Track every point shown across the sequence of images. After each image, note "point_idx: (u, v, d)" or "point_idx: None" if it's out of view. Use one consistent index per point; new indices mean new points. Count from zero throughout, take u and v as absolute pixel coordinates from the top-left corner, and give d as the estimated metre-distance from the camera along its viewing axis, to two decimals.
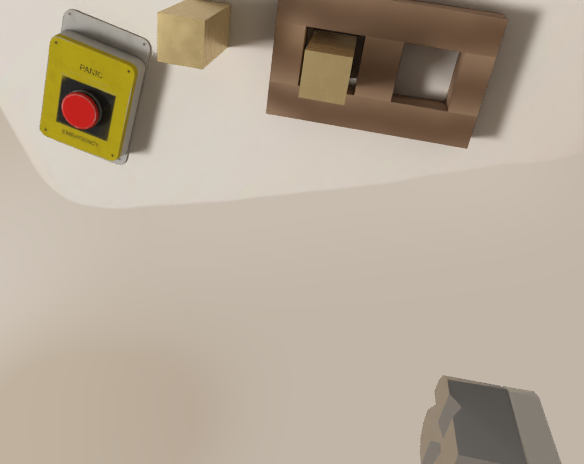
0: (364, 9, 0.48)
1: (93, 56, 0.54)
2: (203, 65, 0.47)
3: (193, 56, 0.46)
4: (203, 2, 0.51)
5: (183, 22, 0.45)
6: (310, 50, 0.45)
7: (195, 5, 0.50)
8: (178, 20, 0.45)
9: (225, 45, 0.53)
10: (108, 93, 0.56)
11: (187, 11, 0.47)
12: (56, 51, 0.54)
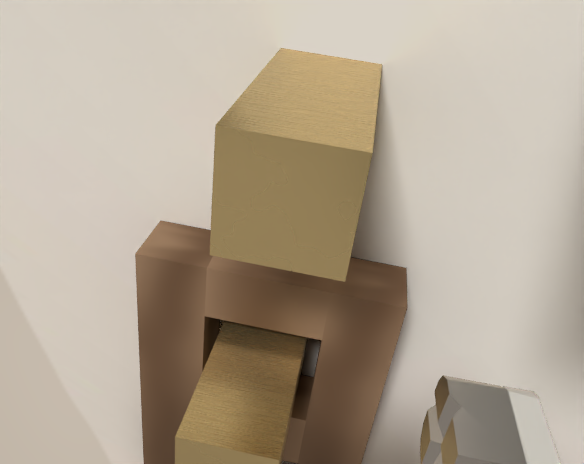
0: (350, 423, 0.27)
1: None
2: None
3: (243, 236, 0.15)
4: None
5: (340, 225, 0.15)
6: None
7: None
8: (346, 212, 0.14)
9: None
10: None
11: None
12: None
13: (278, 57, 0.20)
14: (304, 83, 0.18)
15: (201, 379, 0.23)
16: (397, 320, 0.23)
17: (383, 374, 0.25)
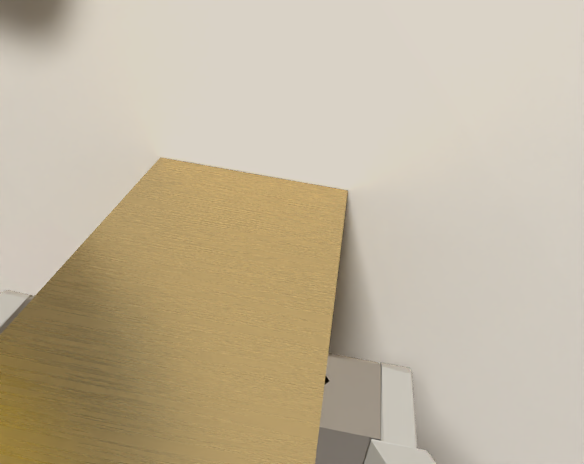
0: None
1: None
2: None
3: None
4: None
5: None
6: None
7: None
8: None
9: None
10: None
11: None
12: None
13: (142, 189, 0.10)
14: (165, 286, 0.08)
15: None
16: None
17: None
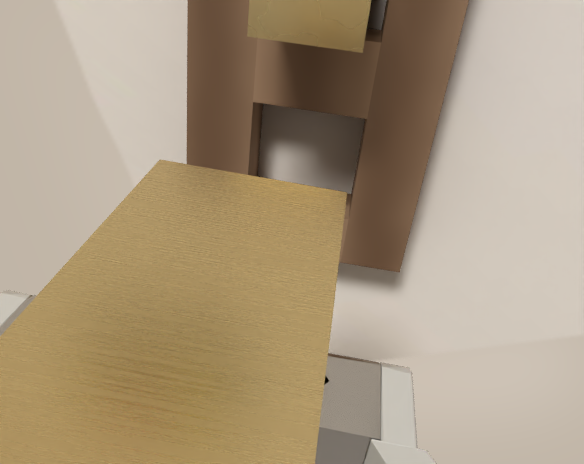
0: (433, 37, 0.23)
1: None
2: None
3: None
4: None
5: None
6: None
7: None
8: None
9: None
10: None
11: None
12: None
13: (141, 191, 0.10)
14: (164, 288, 0.08)
15: None
16: None
17: None
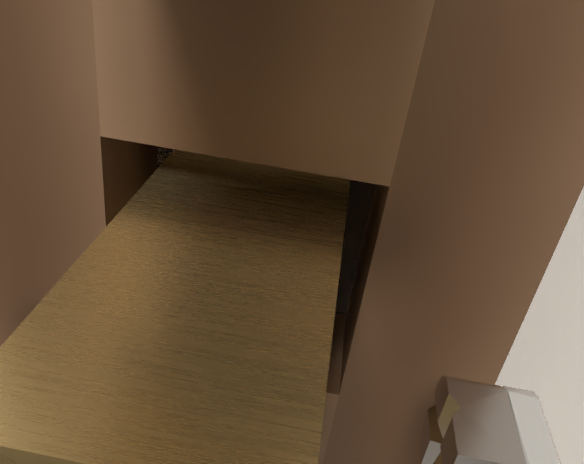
0: None
1: None
2: None
3: None
4: None
5: None
6: None
7: None
8: None
9: None
10: None
11: None
12: None
13: (178, 155, 0.12)
14: (205, 225, 0.10)
15: None
16: None
17: None
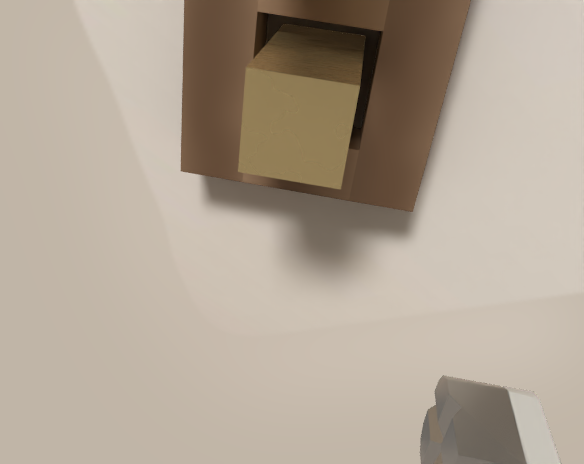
0: None
1: None
2: None
3: (263, 155, 0.20)
4: None
5: (336, 143, 0.20)
6: None
7: None
8: (341, 133, 0.20)
9: None
10: None
11: None
12: None
13: (283, 29, 0.25)
14: (305, 45, 0.23)
15: None
16: None
17: None
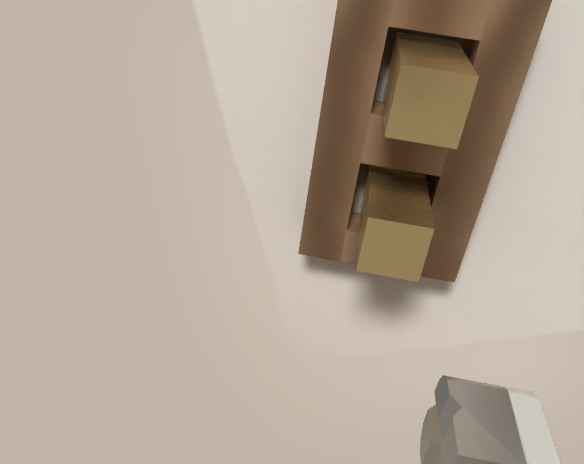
0: (490, 125, 0.35)
1: None
2: None
3: (373, 263, 0.34)
4: None
5: (418, 258, 0.34)
6: (475, 84, 0.28)
7: None
8: (421, 252, 0.33)
9: None
10: None
11: None
12: None
13: (372, 167, 0.39)
14: (392, 186, 0.37)
15: (400, 52, 0.30)
16: (543, 13, 0.31)
17: (524, 70, 0.33)
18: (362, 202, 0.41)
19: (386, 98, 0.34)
